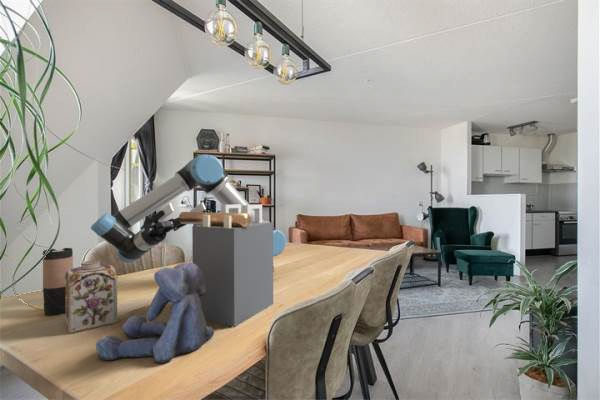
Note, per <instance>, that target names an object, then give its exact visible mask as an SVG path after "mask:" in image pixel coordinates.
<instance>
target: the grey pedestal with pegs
mask: <svg viewBox="0 0 600 400" xmlns="http://www.w3.org/2000/svg"><path fill="white" fill-rule="evenodd" d="M229 208H234V213H241V204H233V205H222V204H220V213H229ZM250 209H254V210H255V222H251V223H250V225H249V226H248V227H235V226H231V216H224V226H217V225H210V215H203V225H198V224H197V225H193V226H192V227H191V228H192V233H191V234H192V236H191V237H192V244H191V245H192V251H191V252H192V263H194V264H196V265H197V266H198V267H199V269H200V270H201V272H202V274H203V276H204V280H205V285H206V292H205V294H204V295H203V296H200V297H199V298H200V300H201V309H202V311H203V314H204V316H205V321H206V322H207V321H208V322H211V323H216V324H220V325H224V326H228V327H231V328H236V327H237V326H238V325H240V324H242V323H244V322H246V321H247V320H250V319H251V318H252V317H254V316H256V315H257V314H259V313H261V312H262V311H264V310H265V309H266V310H267V308H269V307H271V306H272V305H274V272H273V266H274V256H273V226H274V222H270V223H266V222H262V219H263V204H249V205H243V214H249V215H250V217H251V214H250Z"/></svg>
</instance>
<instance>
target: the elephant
mask: <svg viewBox="0 0 600 400" xmlns="http://www.w3.org/2000/svg"><path fill="white" fill-rule="evenodd" d="M153 277H154V281H155V282H156V284H157V285H158V290H157V291H156V293H155V295H154V296H153V298H152V300H151V301H150V302H151V303H150V305H149V307H148V308H147V311H146V317H145V316H143V315H131V316H130V317H128V318H127V319H126V321H125V322H124V323H123V324H122V327H121V328H122V329H121V330H122V331H123V333H124V335H125V336H126V338H128V339H130V340H127V341H123V339H122V338H121V337H118V336H115V335H113V334H112V335H107V336H105V337H103V338H101V339H98V340H97V341H96V343H95V347H96V351H97V352H96V353H97V355H98V358H99V359H100V360H103V361H104V360H105V361H114V360H118V359H124V358H125V359H126V358H143V357H154V362H155V363H161V364H163V363H164V364H165V363H167V362H170V361H171V360H172V359H173V358H174V357H175V356H178V355H183V354H188V353H191V352H194V351H196V350H198V349H200V348H201V347H202V346H203V345H204V344H205V343H206V342H207V341H209V340H211V338H212V337H213V336H214V335H215V329H214V327H213V326H208V325H207V321H206V320H205V316H204V314H203V311H202V309H201V300H200V298H199V297H200V296H203V295H204V294H205V292H206V285H205V280H204V276H203V274H202V272H201V270H200V269H199V267H198V266H197V265H196V264H194V263H193V262H191V261H183V262H181V263H178V264H177V265H176V266H174V267H161V268H160V269H158V270H157V271H156V272H154V274H153ZM168 303H172V304H171V308H170V310H169V315H168V320H167V322H165V321H161V320H160V321H157V320H156V319H157V318H158V317H159V316H160V315H161V314H162V312H163V310H164V309H165V307H166V306H167V305H168ZM155 320H156V321H155Z"/></svg>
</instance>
